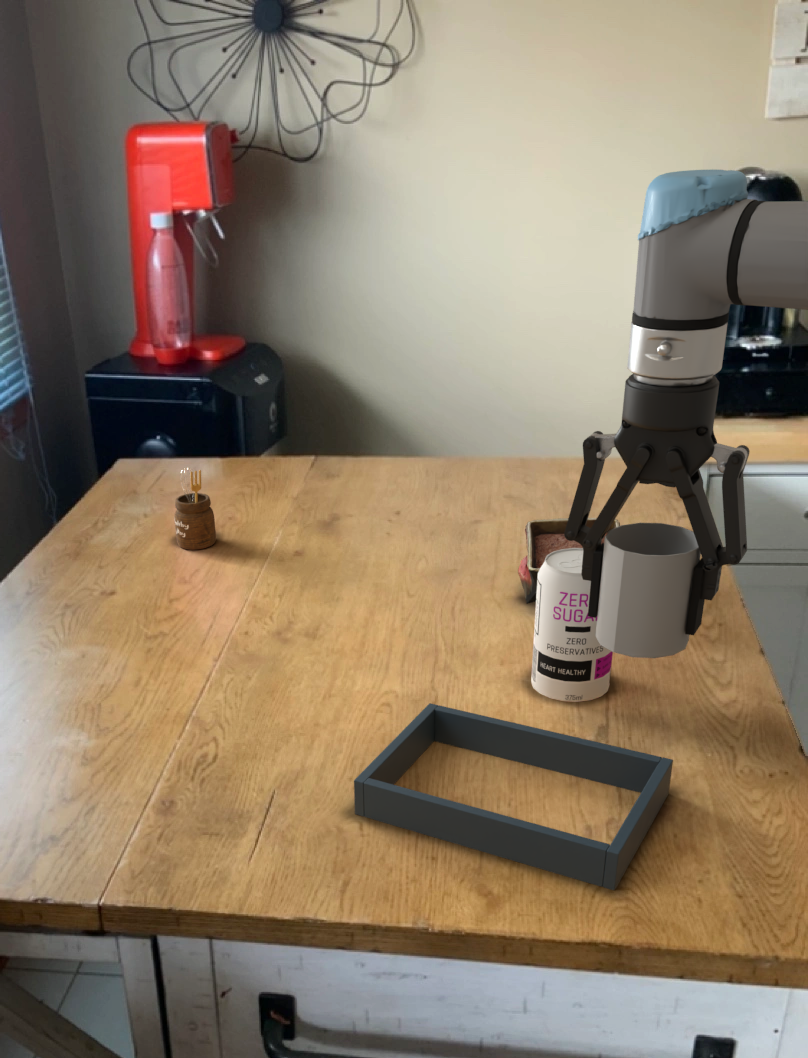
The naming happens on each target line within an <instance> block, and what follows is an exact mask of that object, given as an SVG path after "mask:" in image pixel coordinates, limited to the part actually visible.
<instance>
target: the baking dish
mask: <svg viewBox="0 0 808 1058" xmlns="http://www.w3.org/2000/svg"><path fill="white" fill-rule="evenodd" d="M568 518H569V517H565V518H564V517H560V518H559V517H558V518H547V519H545V518H544V519H533V520H531V521H529V520H528V521H527V523H526V524H525V529H524V533H525V539H526V550H527V553H526V554H527V555H525V556H523V558H522V559H521V560H520V564H519V566H518V570H517V575H518V576H519V579H520V583H521V586H522V590H523V594H524V598H525V603H526V605H528V604H532V603H536V593H537V577H538V572H539V570H540V568H541V566H542V565H543V563H544V562H545V558H546V556H547V555H548V554H550V553H552V552H554V551H558V550H561V549H569V548H583V547H582V545H581V544H579V543H578V542H576V541H574V540H573V541H569V540H567V539H566V538H565V536H564V532H565V529H566V525H567V522H568ZM596 519H597V517H588V520H587V523H586V526H587V527H589V528H591V527H592V525H593V524H594V522H595V521H596ZM619 526H621V523H620V520H619V519H616V518H615V520H614V521H613V523H612V525H611V526H610V528H609V529H608V531H609V530H611V529H614V528H616V527H619ZM608 531H607V533H608ZM607 533H606V534H605V536H606V535H607ZM604 541H605V537H604V538H603V539H602V540H601V544H602V543H604Z"/></svg>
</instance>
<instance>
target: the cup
mask: <svg viewBox="0 0 808 1058" xmlns="http://www.w3.org/2000/svg"><path fill="white" fill-rule="evenodd" d="M701 557H702V556H701V553H700V550H699V547H698V544H697V541H696V538H695V535H694V532H693V530H690V529H688V528H685V527H683V526H680V525H676V524H669V523H664V522H634V523H628V524H620V526H619V527H616V528H614V529H611V530H609V531H608V533H607V535H606V536H605V541H604V551H603V562H602V573H601V583H600V594H599V604H598V615H597V625H596V638H597V640H598V642H599V643H600V645H602V646H603V647H605V648H607V649H609V650H610V651H612V652H613V654H617V655H623V656H627V657H631V658H639V659H659V658H666V657H673V656H675V655H677V654H679V653H681V652H682V651H684V650H686V649H687V646H688V643H689V640H690V635H688V634H685V632H686V625H687V618H688V611H689V603H690V596H691V589H692V582H693V574H694V568H695V566H696V565H697V564H698V562H699V561H700V559H701Z"/></svg>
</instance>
